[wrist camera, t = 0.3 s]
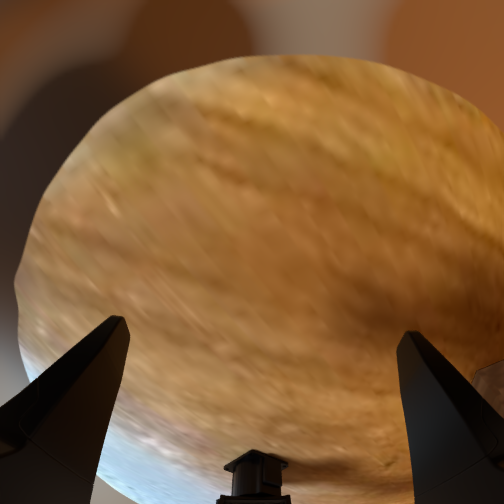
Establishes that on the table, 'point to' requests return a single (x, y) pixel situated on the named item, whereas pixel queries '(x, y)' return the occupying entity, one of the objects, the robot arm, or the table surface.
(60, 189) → the table surface
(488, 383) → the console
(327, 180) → the table surface
